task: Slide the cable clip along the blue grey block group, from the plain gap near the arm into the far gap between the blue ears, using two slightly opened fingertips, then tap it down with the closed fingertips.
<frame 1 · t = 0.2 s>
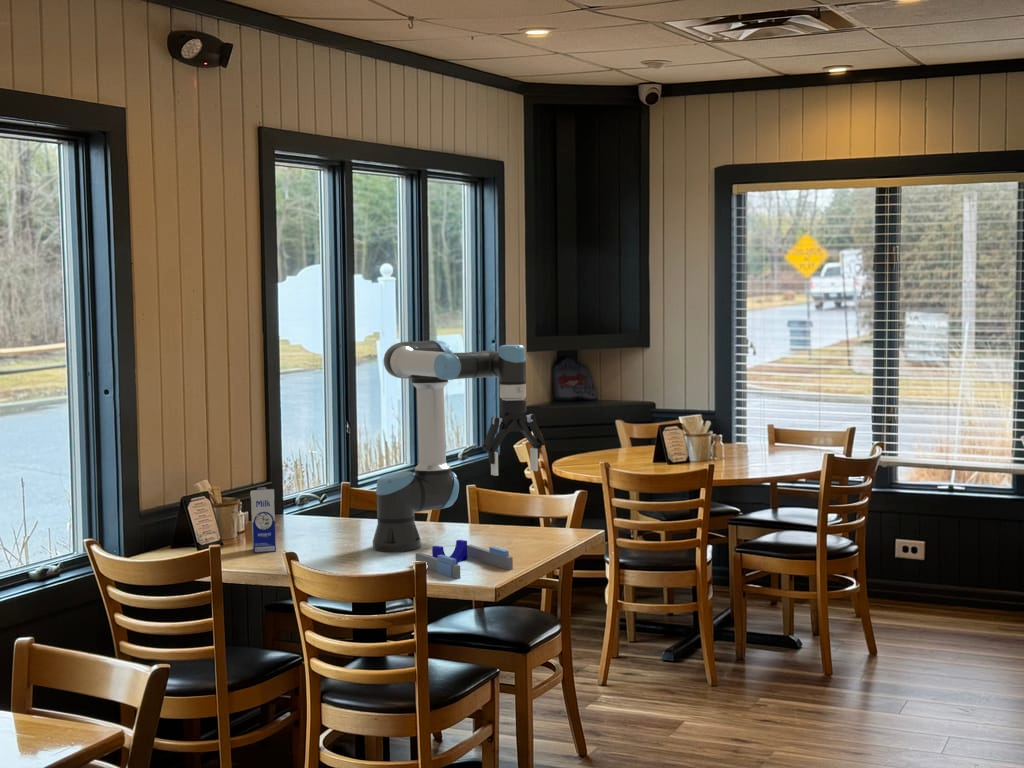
hand: (514, 473, 343), 28 cm above the table, fingers open, 13 cm apart
milk carton: (264, 550, 378), on the table
blue grey block group: (463, 566, 348), on the table
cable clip: (452, 564, 353), on the table
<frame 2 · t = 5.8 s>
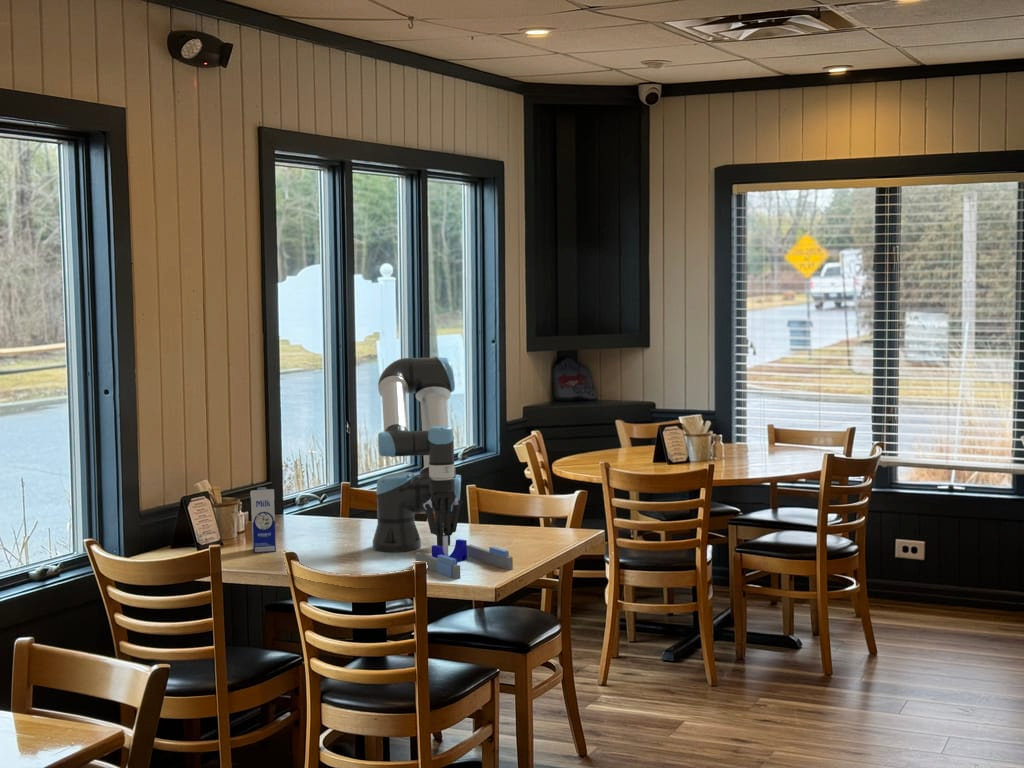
hand: (443, 556, 356), 1 cm above the table, fingers closed
nothing on the table moved.
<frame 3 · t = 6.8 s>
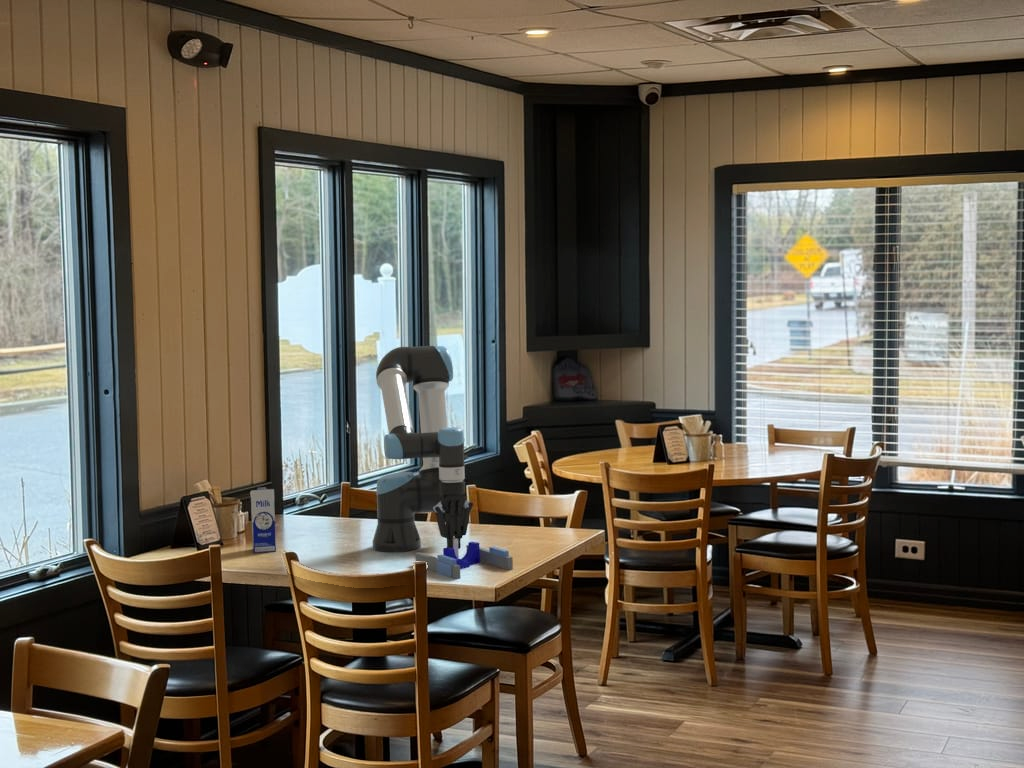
hand: (454, 560, 352), 1 cm above the table, fingers closed
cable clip: (463, 566, 349), on the table
everything else where it was.
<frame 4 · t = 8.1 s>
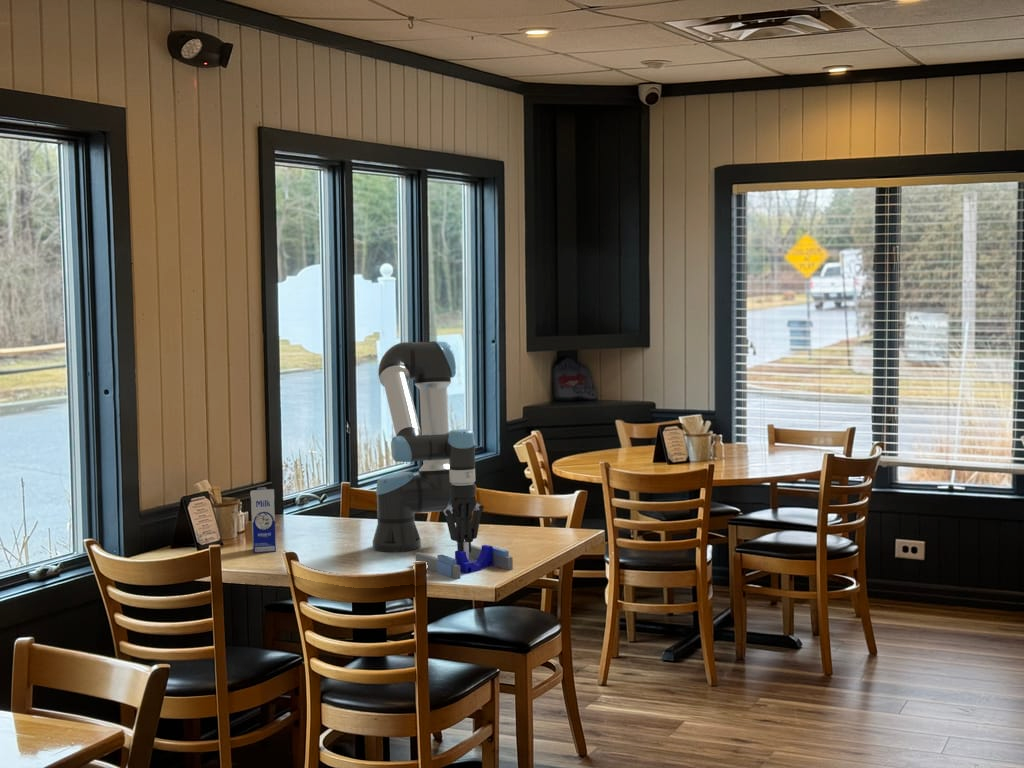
hand: (464, 563, 347), 1 cm above the table, fingers closed
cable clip: (476, 570, 345), on the table
everything else where it was.
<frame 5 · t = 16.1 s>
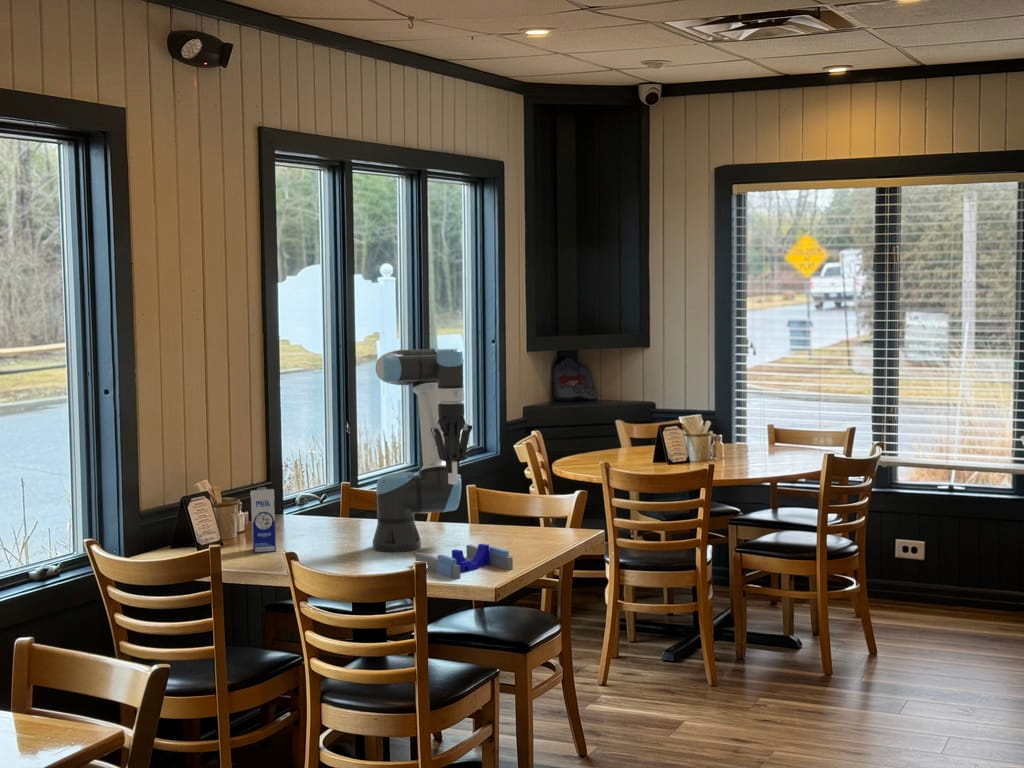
hand: (453, 483, 346), 24 cm above the table, fingers closed
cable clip: (472, 569, 346), on the table
everything else where it was.
at the end: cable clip inside the target area on the blue grey block group (3.4 cm from its centre), point 0.0 cm above the blue grey block group's base; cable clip tilted 0°; the gripper is holding nothing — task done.
